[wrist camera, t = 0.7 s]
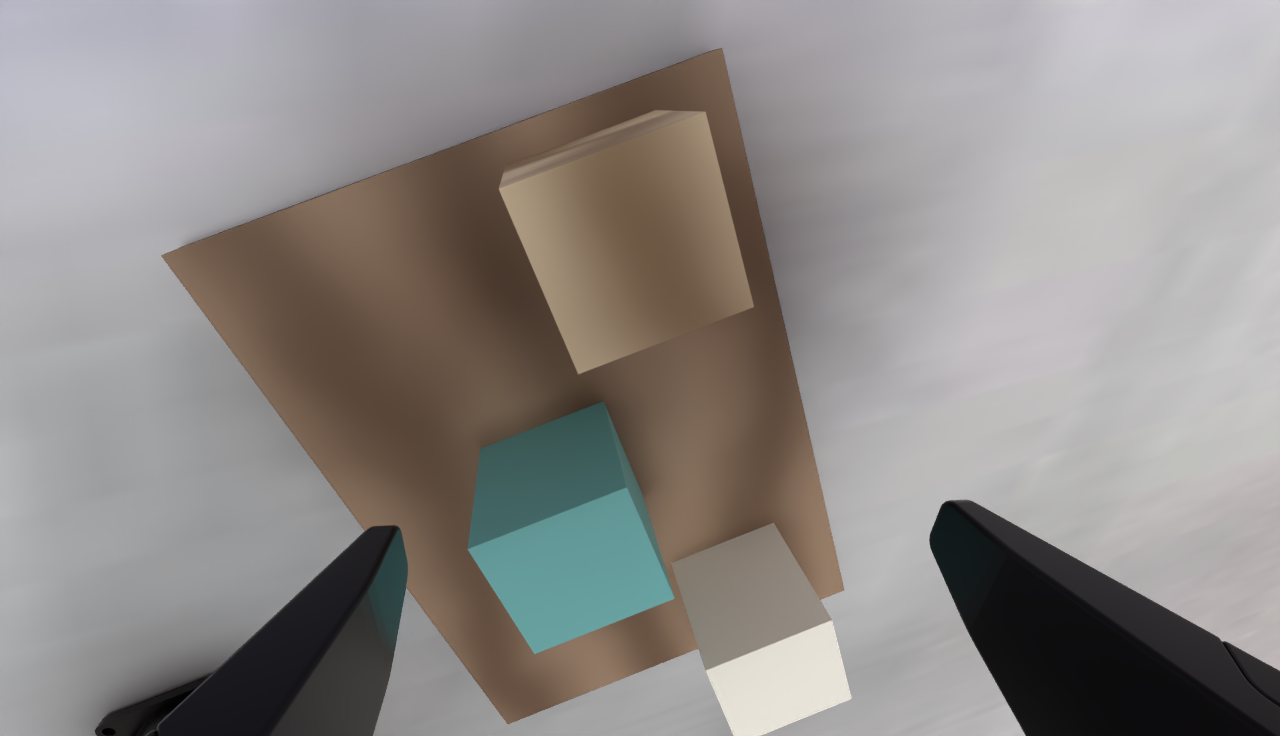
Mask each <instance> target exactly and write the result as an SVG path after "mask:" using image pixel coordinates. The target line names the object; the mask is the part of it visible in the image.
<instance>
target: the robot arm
mask: <svg viewBox="0 0 1280 736" xmlns="http://www.w3.org/2000/svg"><path fill="white" fill-rule="evenodd" d="M929 540H930V547H931V550H932V553H933V555H934V557H935V559H936V562H937V564H938V566H939V568H940V571H941V573H942V575H943V577H944V580H945V582H946V584H947V586H948V589H949V591H950V593H951V596H952V598H953V600H954V602H955V605H956V607H957V609H958V611H959V614H960V616H961V618H962V620H963V622H964V624H965V626H966V629H967V631H968V633H969V635H970V637H971V638H972V640H973V642H974V644H975V646H976V648H977V650H978V651H979V653H980V655H981V657H982V658H983V660H984V662H985V664H986V666H987V667H988V669H989V671H990V673H991V674H992V676H993V678H994V680H995V682H996V683H997V685H998V687H999V689H1000V691H1001V692H1002V694H1003V696H1004V698H1005V699H1006V701H1007V703H1008V705H1009V707H1010V708H1011V710H1012V712H1013V714H1014V715H1015V717H1016V719H1017V721H1018V723H1019V724H1020V726H1021V728H1022V730H1023V732H1024V733H1025V735H1026V736H1280V671H1279V670H1277V669H1275V668H1273V667H1272V666H1270V665H1268V664H1266V663H1264V662H1262V661H1261V660H1259V659H1257V658H1255V657H1253V656H1251V655H1250V654H1248V653H1246V652H1244V651H1242V650H1241V649H1239V648H1237V647H1235V646H1233V645H1232V644H1230V643H1228V642H1225V641H1223V642H1222V641H1221V640H1220V638H1219V637H1217V636H1215V635H1213V634H1212V633H1210V632H1208V631H1206V630H1204V629H1203V628H1201V627H1199V626H1197V625H1195V624H1193V623H1192V622H1190V621H1188V620H1186V619H1184V618H1183V617H1181V616H1179V615H1177V614H1175V613H1174V612H1172V611H1170V610H1168V609H1166V608H1165V607H1163V606H1161V605H1159V604H1157V603H1155V602H1154V601H1152V600H1150V599H1148V598H1146V597H1145V596H1143V595H1141V594H1139V593H1137V592H1136V591H1134V590H1132V589H1130V588H1128V587H1127V586H1125V585H1123V584H1121V583H1119V582H1117V581H1116V580H1114V579H1112V578H1110V577H1108V576H1107V575H1105V574H1103V573H1101V572H1099V571H1098V570H1096V569H1094V568H1092V567H1090V566H1089V565H1087V564H1085V563H1083V562H1081V561H1079V560H1078V559H1076V558H1074V557H1072V556H1070V555H1069V554H1067V553H1065V552H1063V551H1061V550H1060V549H1058V548H1056V547H1054V546H1052V545H1051V544H1049V543H1047V542H1045V541H1043V540H1042V539H1040V538H1038V537H1036V536H1034V535H1032V534H1031V533H1029V532H1027V531H1025V530H1023V529H1022V528H1020V527H1018V526H1016V525H1014V524H1013V523H1011V522H1009V521H1007V520H1005V519H1004V518H1002V517H1000V516H998V515H996V514H995V513H993V512H991V511H989V510H987V509H985V508H984V507H982V506H980V505H978V504H976V503H975V502H973V501H970V500H950V501H946V502H945V503H944V504H942V506H941V508H940V510H939V513H938V515H937V518H936V521H935V523H934V526H933V528H932V531H931V533H930V539H929ZM407 578H408V561H407V556H406V552H405V547H404V542H403V537H402V532H401V530H400V528H399V527H398V526H396V525H386V526H373V527H370V528H368V529H367V530H366V531H365V532H364V533H363V534H362V535H360V536H359V537H358V538H357V539H356V540H355V541H354V542H353V543H352V544H351V545H350V546H349V547H348V548H347V549H345V550H344V551H343V552H342V553H341V554H340V555H339V556H338V557H337V558H336V559H335V560H334V561H333V562H331V563H330V564H329V565H328V566H327V567H326V568H325V569H324V570H323V571H322V572H321V573H320V574H319V575H318V576H316V577H315V578H314V579H313V580H312V581H311V582H310V583H309V584H308V585H307V586H306V587H305V588H304V589H303V590H301V591H300V592H299V593H298V594H297V595H296V596H295V597H294V598H293V599H292V600H291V601H290V602H289V603H288V604H286V605H285V606H284V607H283V608H282V609H281V610H280V611H279V612H278V613H277V614H276V615H275V616H274V617H273V618H271V619H270V620H269V621H268V622H267V623H266V624H265V625H264V626H263V627H262V628H261V629H260V630H259V631H258V632H256V633H255V634H254V635H253V636H252V637H251V638H250V639H249V640H248V641H247V642H246V643H245V644H244V645H243V646H241V647H240V648H239V649H238V650H237V651H236V652H235V653H234V654H233V655H232V656H231V657H230V658H229V659H228V660H226V661H225V662H224V663H223V664H222V665H221V666H220V667H219V668H218V669H217V670H216V671H215V672H214V673H213V674H211V675H210V676H209V677H206V678H204V679H201V680H199V681H196V682H194V683H191V684H188V685H186V686H183V687H181V688H178V689H176V690H173V691H171V692H168V693H165V694H163V695H160V696H158V697H155V698H153V699H150V700H148V701H145V702H142V703H140V704H137V705H135V706H132V707H130V708H127V709H124V710H122V711H119V712H117V713H114V714H112V715H109V716H107V717H105V718H103V719H102V721H101V722H100V724H99V725H98V727H97V728H96V730H95V734H96V735H97V736H373V733H374V730H375V726H376V723H377V719H378V716H379V713H380V709H381V706H382V703H383V699H384V696H385V692H386V689H387V685H388V681H389V677H390V672H391V667H392V662H393V657H394V651H395V646H396V640H397V635H398V629H399V623H400V618H401V612H402V607H403V601H404V595H405V590H406V584H407Z"/></svg>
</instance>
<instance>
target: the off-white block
mask: <svg viewBox="0 0 1280 736" xmlns="http://www.w3.org/2000/svg"><path fill="white" fill-rule="evenodd" d="M671 565H672V568H673V571H674V574H675V577H676V580H677V583H678V586H679V589H680V592H681V596H682V599H683V602H684V605H685V608H686V611H687V614H688V617H689V620H690V623H691V627H692V630H693V633H694V636H695V639H696V642H697V645H698V648H699V651H700V655H701V658H702V661H703V664H704V667H705V670H706V673H707V675H708V677H709V679H710V682H711V684H712V686H713V689H714V691H715V693H716V696H717V698H718V700H719V703H720V705H721V707H722V710H723V712H724V714H725V717H726V719H727V721H728V724H729V726H730V728H731V731H732V733H733V735H734V736H761V735H763V734H766V733H768V732H771V731H773V730H776V729H778V728H780V727H783V726H785V725H788V724H790V723H793V722H795V721H798V720H800V719H803V718H805V717H808V716H810V715H813V714H815V713H818V712H820V711H823V710H825V709H828V708H830V707H832V706H835V705H837V704H840V703H842V702H845V701H847V700H850V699H852V698H851V694H850V690H849V686H848V682H847V678H846V674H845V670H844V666H843V662H842V658H841V654H840V650H839V646H838V642H837V638H836V634H835V630H834V626H833V622H832V619H831V617H830V616H829V614H828V612H827V611H826V609H825V607H824V606H823V604H822V602H821V601H820V599H819V597H818V596H817V594H816V592H815V591H814V589H813V587H812V586H811V584H810V582H809V581H808V579H807V577H806V576H805V574H804V572H803V571H802V569H801V567H800V566H799V564H798V562H797V561H796V559H795V557H794V556H793V554H792V552H791V551H790V549H789V547H788V546H787V544H786V542H785V541H784V539H783V537H782V536H781V534H780V532H779V531H778V529H777V527H776V526H775V524H774V523H771V524H769V525H766V526H764V527H761V528H759V529H756V530H754V531H751V532H749V533H746V534H744V535H741V536H738V537H736V538H733V539H731V540H728V541H726V542H723V543H721V544H718V545H716V546H713V547H711V548H708V549H705V550H703V551H700V552H698V553H695V554H693V555H690V556H688V557H685V558H683V559H680V560H678V561H675V562H673V563H671Z"/></svg>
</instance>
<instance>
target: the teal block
mask: <svg viewBox="0 0 1280 736" xmlns="http://www.w3.org/2000/svg"><path fill="white" fill-rule="evenodd" d="M468 551H469V552H470V554H471V555H472V557H473V559H474V560H475V562H476V563H477V565H478V566H479V568H480V570H481V571H482V573H483V574H484V576H485V577H486V579H487V580H488V582H489V584H490V585H491V587H492V588H493V590H494V591H495V593H496V595H497V596H498V598H499V599H500V601H501V602H502V604H503V606H504V607H505V609H506V610H507V612H508V613H509V615H510V616H511V618H512V620H513V621H514V623H515V624H516V626H517V627H518V629H519V631H520V632H521V634H522V635H523V637H524V638H525V640H526V642H527V643H528V645H529V646H530V648H531V649H532V651H533V652H534V654H536V653H539V652H541V651H544V650H546V649H549V648H551V647H554V646H556V645H559V644H561V643H564V642H567V641H569V640H572V639H574V638H577V637H579V636H582V635H584V634H587V633H589V632H592V631H594V630H597V629H599V628H602V627H604V626H607V625H609V624H612V623H615V622H617V621H620V620H622V619H625V618H627V617H630V616H632V615H635V614H637V613H640V612H642V611H645V610H647V609H650V608H652V607H655V606H657V605H660V604H662V603H665V602H668V601H670V600H673V599H675V598H674V595H673V591H672V588H671V585H670V582H669V578H668V575H667V572H666V568H665V565H664V562H663V559H662V555H661V552H660V549H659V546H658V542H657V539H656V536H655V533H654V529H653V526H652V523H651V520H650V516H649V513H648V510H647V506H646V503H645V500H644V497H643V495H642V492H641V490H640V487H639V485H638V483H637V480H636V478H635V475H634V473H633V471H632V468H631V466H630V463H629V461H628V459H627V456H626V454H625V451H624V449H623V447H622V444H621V442H620V439H619V437H618V435H617V432H616V430H615V427H614V425H613V423H612V420H611V418H610V415H609V413H608V411H607V408H606V406H605V403H604V401H603V402H600V403H598V404H595V405H593V406H590V407H587V408H585V409H582V410H580V411H577V412H574V413H572V414H569V415H567V416H564V417H561V418H559V419H556V420H554V421H551V422H548V423H546V424H543V425H541V426H538V427H535V428H533V429H530V430H528V431H525V432H522V433H520V434H517V435H515V436H512V437H509V438H507V439H504V440H502V441H499V442H496V443H494V444H491V445H489V446H486V447H483V448H481V449H480V455H479V463H478V471H477V479H476V487H475V495H474V503H473V511H472V518H471V526H470V534H469V542H468Z"/></svg>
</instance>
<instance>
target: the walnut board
mask: <svg viewBox="0 0 1280 736" xmlns="http://www.w3.org/2000/svg"><path fill="white" fill-rule="evenodd" d="M655 110H668V111H699V112H706V116H707V120H708V124H709V128H710V132H711V136H712V140H713V144H714V148H715V152H716V156H717V160H718V164H719V168H720V172H721V176H722V180H723V184H724V188H725V192H726V196H727V200H728V204H729V208H730V212H731V216H732V220H733V224H734V228H735V232H736V236H737V240H738V244H739V248H740V252H741V256H742V260H743V264H744V268H745V272H746V276H747V280H748V284H749V288H750V292H751V296H752V300H753V304H754V307H753V308H750V309H747V310H745V311H742V312H740V313H737V314H734V315H732V316H729V317H727V318H724V319H721V320H719V321H716V322H714V323H711V324H708V325H706V326H703V327H701V328H698V329H695V330H693V331H690V332H687V333H685V334H682V335H680V336H677V337H674V338H672V339H669V340H667V341H664V342H661V343H659V344H656V345H654V346H651V347H648V348H646V349H643V350H641V351H638V352H635V353H633V354H630V355H628V356H625V357H622V358H620V359H617V360H614V361H612V362H609V363H607V364H604V365H601V366H599V367H596V368H594V369H591V370H588V371H586V372H583V373H581V374H578V372H577V370H576V368H575V365H574V363H573V361H572V358H571V356H570V354H569V351H568V349H567V347H566V344H565V342H564V340H563V338H562V335H561V333H560V331H559V328H558V326H557V324H556V321H555V319H554V317H553V314H552V312H551V310H550V307H549V305H548V303H547V300H546V298H545V296H544V293H543V291H542V289H541V286H540V284H539V282H538V279H537V277H536V275H535V272H534V270H533V268H532V265H531V263H530V261H529V258H528V256H527V254H526V251H525V249H524V247H523V244H522V242H521V240H520V237H519V235H518V233H517V231H516V228H515V226H514V224H513V221H512V219H511V217H510V214H509V212H508V210H507V207H506V205H505V203H504V200H503V198H502V196H501V193H500V191H499V186H500V183H501V179H502V176H503V173H504V170H505V166H507V165H509V164H512V163H515V162H518V161H520V160H523V159H526V158H528V157H531V156H534V155H536V154H539V153H542V152H544V151H547V150H550V149H552V148H555V147H558V146H561V145H563V144H566V143H569V142H571V141H574V140H577V139H579V138H582V137H585V136H587V135H590V134H593V133H595V132H598V131H601V130H603V129H606V128H609V127H612V126H614V125H617V124H620V123H622V122H625V121H628V120H630V119H633V118H636V117H638V116H641V115H644V114H646V113H649V112H652V111H655ZM161 256H162V257H163V259H164V260H165V261H166V263H167V264H168V266H169V267H170V268H171V270H172V271H173V272H174V274H175V275H176V276H177V278H178V279H179V280H180V282H181V283H182V284H183V286H184V287H185V289H186V290H187V291H188V293H189V294H190V295H191V297H192V298H193V299H194V301H195V302H196V303H197V305H198V306H199V307H200V309H201V310H202V312H203V313H204V314H205V316H206V317H207V318H208V320H209V321H210V322H211V324H212V325H213V326H214V328H215V329H216V330H217V332H218V333H219V335H220V336H221V337H222V339H223V340H224V341H225V343H226V344H227V345H228V347H229V348H230V349H231V351H232V352H233V353H234V355H235V356H236V358H237V359H238V360H239V362H240V363H241V364H242V366H243V367H244V368H245V370H246V371H247V372H248V374H249V375H250V376H251V378H252V379H253V380H254V382H255V383H256V385H257V386H258V387H259V389H260V390H261V391H262V393H263V394H264V395H265V397H266V398H267V399H268V401H269V402H270V403H271V405H272V406H273V408H274V409H275V410H276V412H277V413H278V414H279V416H280V417H281V418H282V420H283V421H284V422H285V424H286V425H287V426H288V428H289V429H290V431H291V432H292V433H293V435H294V436H295V437H296V439H297V440H298V441H299V443H300V444H301V445H302V447H303V448H304V449H305V451H306V452H307V454H308V455H309V456H310V458H311V459H312V460H313V462H314V463H315V464H316V466H317V467H318V468H319V470H320V471H321V472H322V474H323V475H324V477H325V478H326V479H327V481H328V482H329V483H330V485H331V486H332V487H333V489H334V490H335V491H336V493H337V494H338V495H339V497H340V498H341V499H342V501H343V502H344V504H345V505H346V506H347V508H348V509H349V510H350V512H351V513H352V514H353V516H354V517H355V518H356V520H357V521H358V522H359V524H360V525H361V527H362V528H363V529H364V531H366V530H367V529H368V528H370V527H373V526H386V525H396V526H398V527H399V528H400V530H401V532H402V537H403V542H404V547H405V552H406V556H407V561H408V578H407V584H406V587H407V589H408V590H409V591H410V593H411V594H412V596H413V597H414V598H415V600H416V601H417V602H418V604H419V605H420V606H421V608H422V609H423V610H424V612H425V613H426V614H427V616H428V617H429V619H430V620H431V621H432V623H433V624H434V625H435V627H436V628H437V629H438V631H439V632H440V633H441V635H442V636H443V637H444V639H445V640H446V641H447V643H448V644H449V646H450V647H451V648H452V650H453V651H454V652H455V654H456V655H457V656H458V658H459V659H460V660H461V662H462V663H463V664H464V666H465V667H466V669H467V670H468V671H469V673H470V674H471V675H472V677H473V678H474V679H475V681H476V682H477V683H478V685H479V686H480V687H481V689H482V690H483V692H484V693H485V694H486V696H487V697H488V698H489V700H490V701H491V702H492V704H493V705H494V706H495V708H496V709H497V710H498V712H499V713H500V715H501V716H502V717H503V719H504V720H505V721H506V723H507V724H510V723H512V722H515V721H517V720H520V719H522V718H525V717H527V716H530V715H532V714H535V713H537V712H540V711H543V710H545V709H548V708H550V707H553V706H555V705H558V704H560V703H563V702H565V701H568V700H570V699H573V698H575V697H578V696H580V695H583V694H585V693H588V692H590V691H593V690H595V689H598V688H600V687H603V686H605V685H608V684H610V683H613V682H615V681H618V680H620V679H623V678H625V677H628V676H630V675H633V674H635V673H638V672H640V671H643V670H645V669H648V668H650V667H653V666H655V665H658V664H660V663H663V662H665V661H668V660H670V659H673V658H675V657H678V656H680V655H683V654H685V653H688V652H690V651H693V650H696V649H698V645H697V642H696V639H695V636H694V633H693V630H692V627H691V623H690V620H689V617H688V614H687V611H686V608H685V605H684V602H683V599H682V596H681V592H680V589H679V586H678V583H677V580H676V577H675V574H674V571H673V568H672V565H671V563H673V562H675V561H678V560H680V559H683V558H685V557H688V556H690V555H693V554H695V553H698V552H700V551H703V550H705V549H708V548H711V547H713V546H716V545H718V544H721V543H723V542H726V541H728V540H731V539H733V538H736V537H738V536H741V535H744V534H746V533H749V532H751V531H754V530H756V529H759V528H761V527H764V526H766V525H769V524H771V523H774V524H775V526H776V527H777V529H778V531H779V532H780V534H781V536H782V537H783V539H784V541H785V542H786V544H787V546H788V547H789V549H790V551H791V552H792V554H793V556H794V557H795V559H796V561H797V562H798V564H799V566H800V567H801V569H802V571H803V572H804V574H805V576H806V577H807V579H808V581H809V582H810V584H811V586H812V587H813V589H814V591H815V592H816V594H817V596H818V597H819V599H820V600H821V599H823V598H826V597H828V596H831V595H833V594H836V593H838V592H841V591H843V590H844V587H843V582H842V578H841V573H840V569H839V564H838V560H837V556H836V551H835V547H834V542H833V538H832V533H831V529H830V524H829V520H828V516H827V511H826V507H825V502H824V498H823V493H822V489H821V485H820V480H819V476H818V471H817V467H816V462H815V458H814V454H813V449H812V445H811V440H810V436H809V431H808V427H807V423H806V418H805V414H804V409H803V405H802V400H801V396H800V392H799V387H798V383H797V378H796V374H795V369H794V365H793V361H792V356H791V352H790V347H789V343H788V338H787V334H786V329H785V325H784V321H783V316H782V312H781V307H780V303H779V298H778V294H777V290H776V285H775V281H774V276H773V272H772V267H771V263H770V259H769V254H768V250H767V245H766V241H765V236H764V232H763V228H762V223H761V219H760V214H759V210H758V205H757V201H756V197H755V192H754V188H753V183H752V179H751V174H750V170H749V165H748V161H747V157H746V152H745V148H744V143H743V139H742V134H741V130H740V126H739V121H738V117H737V112H736V108H735V103H734V99H733V95H732V90H731V86H730V81H729V77H728V72H727V68H726V64H725V59H724V55H723V50H722V48H720V49H716V50H713V51H710V52H707V53H704V54H702V55H699V56H696V57H693V58H691V59H688V60H685V61H683V62H680V63H677V64H675V65H672V66H669V67H666V68H664V69H661V70H658V71H656V72H653V73H650V74H648V75H645V76H642V77H639V78H637V79H634V80H631V81H629V82H626V83H623V84H621V85H618V86H615V87H612V88H610V89H607V90H604V91H602V92H599V93H596V94H594V95H591V96H588V97H585V98H583V99H580V100H577V101H575V102H572V103H569V104H567V105H564V106H561V107H558V108H556V109H553V110H550V111H548V112H545V113H542V114H540V115H537V116H534V117H531V118H529V119H526V120H523V121H521V122H518V123H515V124H513V125H510V126H507V127H504V128H502V129H499V130H496V131H494V132H491V133H488V134H486V135H483V136H480V137H477V138H475V139H472V140H469V141H467V142H464V143H461V144H459V145H456V146H453V147H450V148H448V149H445V150H442V151H440V152H437V153H434V154H432V155H429V156H426V157H423V158H421V159H418V160H415V161H413V162H410V163H407V164H405V165H402V166H399V167H396V168H394V169H391V170H388V171H386V172H383V173H380V174H378V175H375V176H372V177H369V178H367V179H364V180H361V181H359V182H356V183H353V184H351V185H348V186H345V187H342V188H340V189H337V190H334V191H332V192H329V193H326V194H324V195H321V196H318V197H315V198H313V199H310V200H307V201H305V202H302V203H299V204H297V205H294V206H291V207H288V208H286V209H283V210H280V211H278V212H275V213H272V214H270V215H267V216H264V217H261V218H259V219H256V220H253V221H251V222H248V223H245V224H243V225H240V226H237V227H234V228H232V229H229V230H226V231H224V232H221V233H218V234H216V235H213V236H210V237H207V238H205V239H202V240H199V241H197V242H194V243H191V244H189V245H186V246H183V247H181V248H178V249H176V250H173V251H171V252H169V253H166V254H164V255H161ZM603 401H604V403H605V406H606V408H607V411H608V413H609V415H610V418H611V420H612V423H613V425H614V427H615V430H616V432H617V435H618V437H619V439H620V442H621V444H622V447H623V449H624V451H625V454H626V456H627V459H628V461H629V463H630V466H631V468H632V471H633V473H634V475H635V478H636V480H637V483H638V485H639V487H640V490H641V492H642V495H643V497H644V500H645V503H646V506H647V510H648V513H649V516H650V520H651V523H652V526H653V529H654V533H655V536H656V539H657V542H658V546H659V549H660V552H661V555H662V559H663V562H664V565H665V568H666V572H667V575H668V578H669V582H670V585H671V588H672V591H673V595H674V598H675V599H673V600H670V601H668V602H665V603H662V604H660V605H657V606H655V607H652V608H650V609H647V610H645V611H642V612H640V613H637V614H635V615H632V616H630V617H627V618H625V619H622V620H620V621H617V622H615V623H612V624H609V625H607V626H604V627H602V628H599V629H597V630H594V631H592V632H589V633H587V634H584V635H582V636H579V637H577V638H574V639H572V640H569V641H567V642H564V643H561V644H559V645H556V646H554V647H551V648H549V649H546V650H544V651H541V652H539V653H536V654H534V652H533V651H532V649H531V648H530V646H529V645H528V643H527V642H526V640H525V638H524V637H523V635H522V634H521V632H520V631H519V629H518V627H517V626H516V624H515V623H514V621H513V620H512V618H511V616H510V615H509V613H508V612H507V610H506V609H505V607H504V606H503V604H502V602H501V601H500V599H499V598H498V596H497V595H496V593H495V591H494V590H493V588H492V587H491V585H490V584H489V582H488V580H487V579H486V577H485V576H484V574H483V573H482V571H481V570H480V568H479V566H478V565H477V563H476V562H475V560H474V559H473V557H472V555H471V554H470V552H469V551H468V542H469V534H470V526H471V518H472V511H473V503H474V495H475V487H476V479H477V471H478V463H479V455H480V449H481V448H483V447H486V446H489V445H491V444H494V443H496V442H499V441H502V440H504V439H507V438H509V437H512V436H515V435H517V434H520V433H522V432H525V431H528V430H530V429H533V428H535V427H538V426H541V425H543V424H546V423H548V422H551V421H554V420H556V419H559V418H561V417H564V416H567V415H569V414H572V413H574V412H577V411H580V410H582V409H585V408H587V407H590V406H593V405H595V404H598V403H600V402H603Z"/></svg>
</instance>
